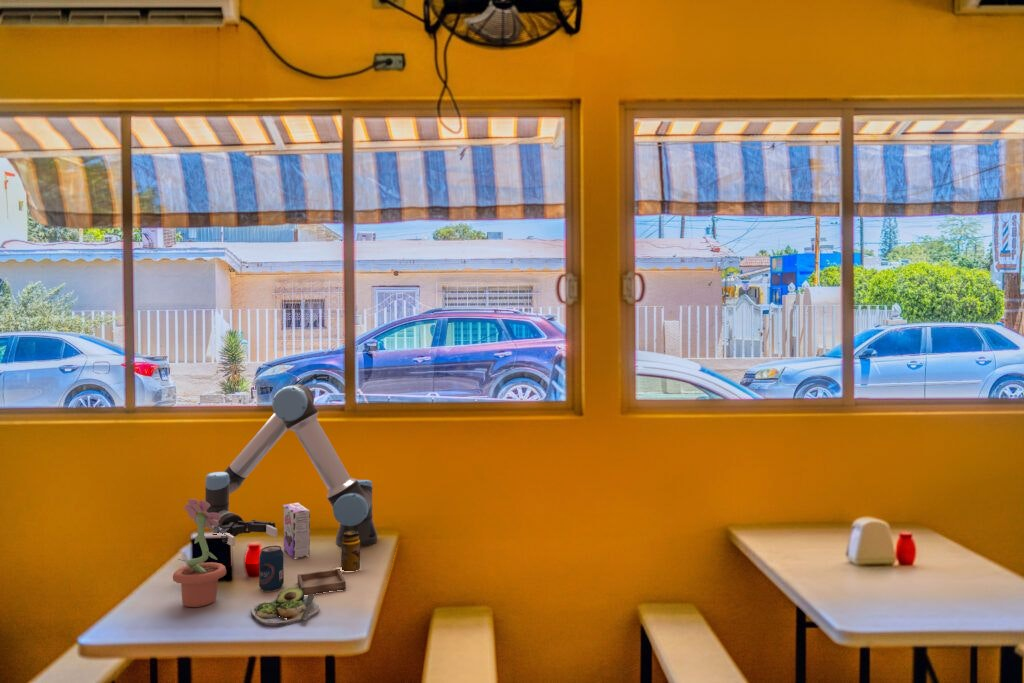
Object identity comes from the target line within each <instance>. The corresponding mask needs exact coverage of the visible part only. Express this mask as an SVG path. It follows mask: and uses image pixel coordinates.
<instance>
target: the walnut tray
mask: <svg viewBox="0 0 1024 683" xmlns="http://www.w3.org/2000/svg"><path fill="white" fill-rule="evenodd" d="M343 575H344V574H342V573H341V571H340V569H335V570H333V569H329V570H320V571H315V572H307V573H299V574H298V573H297V585H298V588H300V589H301V590H302V591H303V592H304V595H309V594H316V593H322V594H324V593H323V592H329V591H336V592H338V591H337V590H343V591H345V590H344V589H346V587H347V586H346V583H347V582H346V580H345V579H346V578H344V576H343ZM346 590H347V589H346ZM329 593H330V592H329ZM316 595H317V594H316Z"/></svg>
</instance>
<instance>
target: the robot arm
mask: <svg viewBox="0 0 1024 683" xmlns="http://www.w3.org/2000/svg"><path fill="white" fill-rule="evenodd" d="M314 402H315V397H314V394H313V392H312V390H311V389H310V388H309V387H308V386H306V385H303V384H299V383H297V384H291V385H287V386H283V387H282V388H281V389H279V390H278V391H277V392H275V395H274V396H273V399H272V403H271V404H272V411H273V412H274V413H273V414H272V415H271V416H270V417H269V419H268V420H267V421H266V422H265V424H264V425H263V426H262V427H261V428H260V429H259V430H258V432H256V434H255V435H254V437H253V438H252V439H251V440H249V442H248V443H247V444H246V445H245V446H244V447H243V449H242V450H241V451H240V453H238V455H237V456H236V457H235V458H234V459H233V460H232V462H231V463H230V465H229V466H227V467H226V468H225V470H224V471H213V472H210V473H208V474H207V475H206V476H205V483H204V488H205V494H204V495H205V497H204V498H205V499H204V501H206V502H208V503H209V504H210V507H209V508H208V509H207V510H206V511H207V512H208V513H218V514H219V516H220V520H215V519H212V518H210V519H212V520H215V521H217V522H218V523H219V525H218V526H212V527H206V528H207V529H209V530H212V535H217V534H213V533H219V532H220V533H222V534H223V533H224V535H226V536H221V537H222V542H223V543H225V542H227V543H226V544H227V545H229V546H231V547H235V546H236V545H235V543H236V541H235V540H236V537H237V536H238V535H239V534H241V535H242V534H250V533H251V532H252V533H265V534H267V535H268V536H271V537H273V538H278V528H276V522H271V521H269V522H268V521H261V520H256V519H252V520H250V521H244V520H243V518H242V517H241V516H240V515H238V514H236V513H234V512H232V511H230V510H229V509H230V508H229V506H230V495H231V494H233V492H236V491H237V490H238V489H239V488H240V487H241V486H242V484H243V482H244V481H245V480H246V478H248V476H249V475H250V474H251V473H252V472H253V470H255V468H256V467H257V466H258V465H259V463H261V461H262V460H263V459H264V457H266V455H267V454H268V453H269V452H270V451H271V449H273V447H274V446H275V445H276V444H277V442H279V440H280V439H281V438H282V437H283V436H284V434H285V433H286V432H287V431H292V432H294V434H295V435H296V437H297V439H298V440H299V442H300V444H301V445H302V447H303V449H304V451H305V452H306V454H307V455H308V457H309V459H310V461H311V463H312V465H313V466H314V468H315V470H316V472H317V473H318V474H319V477H320V478H321V481H322V482H323V484H324V485H325V487H326V489H327V495H326V499H327V500H328V502H329V503H330V505H331V507H332V513H333V516H334V519H335V520H336V521H337V523H339V526H338V528H337V529H338V530H337V534H336V537H335V544H336V545H337V546H338V547H341V542H342V540H343V539H342V537H343V533H344V532H346V531H358V532H359V540H360V548H361V547H367V546H370V545H371V546H372V545H373V544H375V543H377V542H378V532H377V529H376V526H375V523H374V519H373V516H374V515H373V490H374V486H373V482H372V480H370V479H357V478H355V477H354V478H353V477H351V476H350V475H349V473H348V471H347V469H346V467H345V466H344V463H342V461H341V458H340V457H339V455H338V453H337V452H336V450H335V448H334V447H333V445H332V444H331V441H330V440H329V438H328V436H327V435H326V434H327V433H325V431H324V429H323V427H322V426H321V424H320V422H319V420H318V417H319V411H318V410H317V408H316V406H315V403H314ZM228 533H230V534H231V535H230V534H228Z"/></svg>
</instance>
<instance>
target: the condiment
mask: <svg viewBox="0 0 1024 683" xmlns="http://www.w3.org/2000/svg"><path fill="white" fill-rule="evenodd" d="M342 539H343V540H342V542H341V546H340V547H341V548H340V549H341V555H340V558H341V562H340V563H341V567H342V570H344V571H356V570H359V569H360V567H361V547H360V540H359V532H358V531H346V532H344V533H343V537H342ZM333 568H335V566H334V567H333ZM362 569H363V570H362V571H364V570H365V568H364V567H362ZM356 572H357V571H356Z"/></svg>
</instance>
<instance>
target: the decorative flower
mask: <svg viewBox="0 0 1024 683" xmlns="http://www.w3.org/2000/svg"><path fill="white" fill-rule="evenodd" d="M209 507H210V504H209V503H208V502H206V501H205V500H202V499H200V500H199V501H198V500H197V499H196V498H189V499H188V500H187V503H186V504H185V506H184V507H183V508H184V510H186V512H187V514H188V516H189V518H190V519H191V520H193V523H194V524H197V530H196V531H197V535H196V537H195V539H194V544H198V543H199V546H200V549H201V553H202V554H201V556H198V557H196V558H195V557H194V558H191V559H189V560H185V559H184V560H183V559H182V558H181V559H179V558H178V559H177V560H179V561H183V562H187V565H185V566H182V567H179V568H177V570H175V571H174V572H173V574H172V581H173V582H175V583H177V584H180V586H181V587H180V588H181V601H182V605H184V606H185V607H188V608H199V607H204V606H208V605H210V604H212V603H214V602H215V601H216V598H217V596H218V595H217V592H218V585H219V584H218V583H219V579H221V578H224V576H226V575H227V569H226V566H225V565H224V564H223V563H220V562H219V563H218V562H213V561H211V562H206V561H207V560H208V559H209V557H210V558H211V559H212V560H213V559H214V560H215V561H216V560H217V561H218V558H217V557H216V556H215V555H214V554H213V553H212V552H211V551H209V549H210V548H209V546H208V542H207V540H206V536H205V528H207V527H212V526H218V525H219V523H218V522H217V521H215V520H220V516H219V514H218V513H208V512H207V511H206V510H207V509H208V508H209ZM210 518H212V519H215V520H212V519H210Z"/></svg>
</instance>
